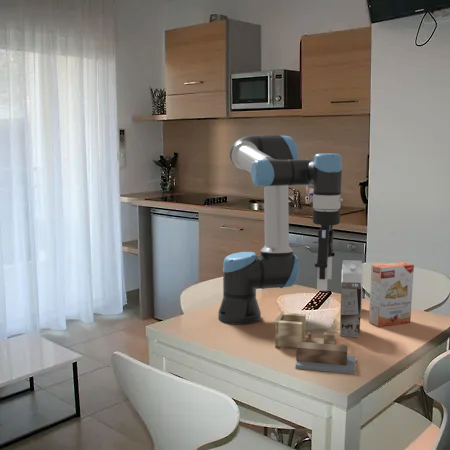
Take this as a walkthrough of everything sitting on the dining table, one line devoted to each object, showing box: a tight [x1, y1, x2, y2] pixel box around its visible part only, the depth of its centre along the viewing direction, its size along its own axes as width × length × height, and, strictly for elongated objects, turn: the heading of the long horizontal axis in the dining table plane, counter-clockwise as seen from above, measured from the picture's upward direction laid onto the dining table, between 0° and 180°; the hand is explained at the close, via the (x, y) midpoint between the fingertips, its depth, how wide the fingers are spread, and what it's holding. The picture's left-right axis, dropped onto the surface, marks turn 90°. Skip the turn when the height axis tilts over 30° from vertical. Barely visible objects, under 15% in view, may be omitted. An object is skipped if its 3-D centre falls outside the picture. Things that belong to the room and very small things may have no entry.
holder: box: [274, 311, 336, 350], centre depth 184 cm, size 18×11×8 cm, turn 75°
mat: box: [295, 355, 357, 375], centre depth 168 cm, size 16×11×1 cm
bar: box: [295, 342, 349, 366], centre depth 168 cm, size 14×5×4 cm, turn 76°
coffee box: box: [339, 282, 362, 338], centre depth 194 cm, size 9×6×16 cm
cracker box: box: [368, 261, 415, 328], centre depth 204 cm, size 14×6×21 cm, turn 114°
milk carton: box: [340, 259, 364, 310], centre depth 219 cm, size 7×7×19 cm
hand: (324, 284), depth 167 cm, fingers open, 13 cm apart
